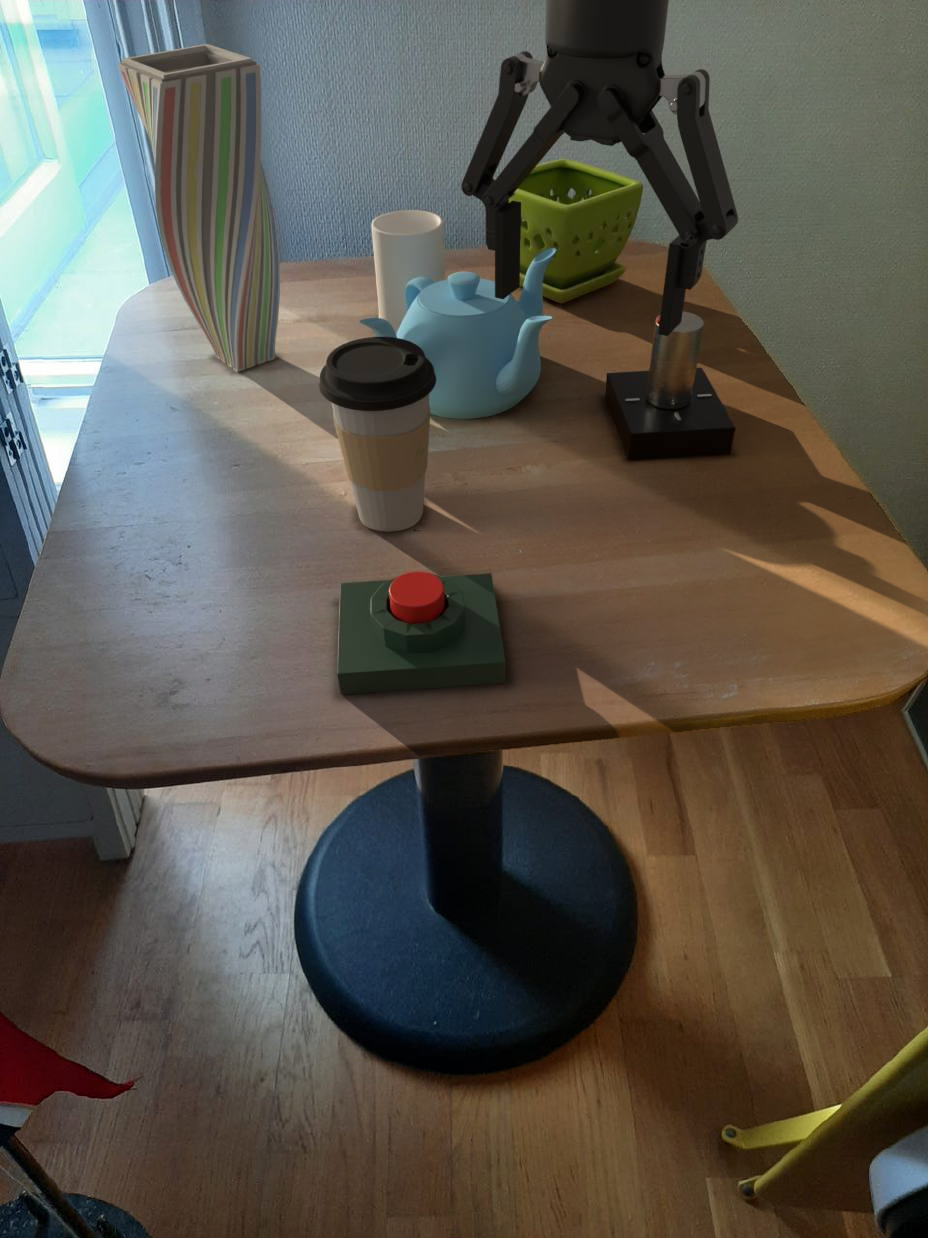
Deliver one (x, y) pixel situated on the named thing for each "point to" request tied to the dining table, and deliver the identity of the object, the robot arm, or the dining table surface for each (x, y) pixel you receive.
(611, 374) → the panel
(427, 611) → the button
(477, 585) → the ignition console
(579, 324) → the dining table surface
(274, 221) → the vase
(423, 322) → the teapot
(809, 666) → the dining table surface
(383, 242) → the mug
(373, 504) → the coffee cup
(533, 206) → the flower pot
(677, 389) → the stove knob
